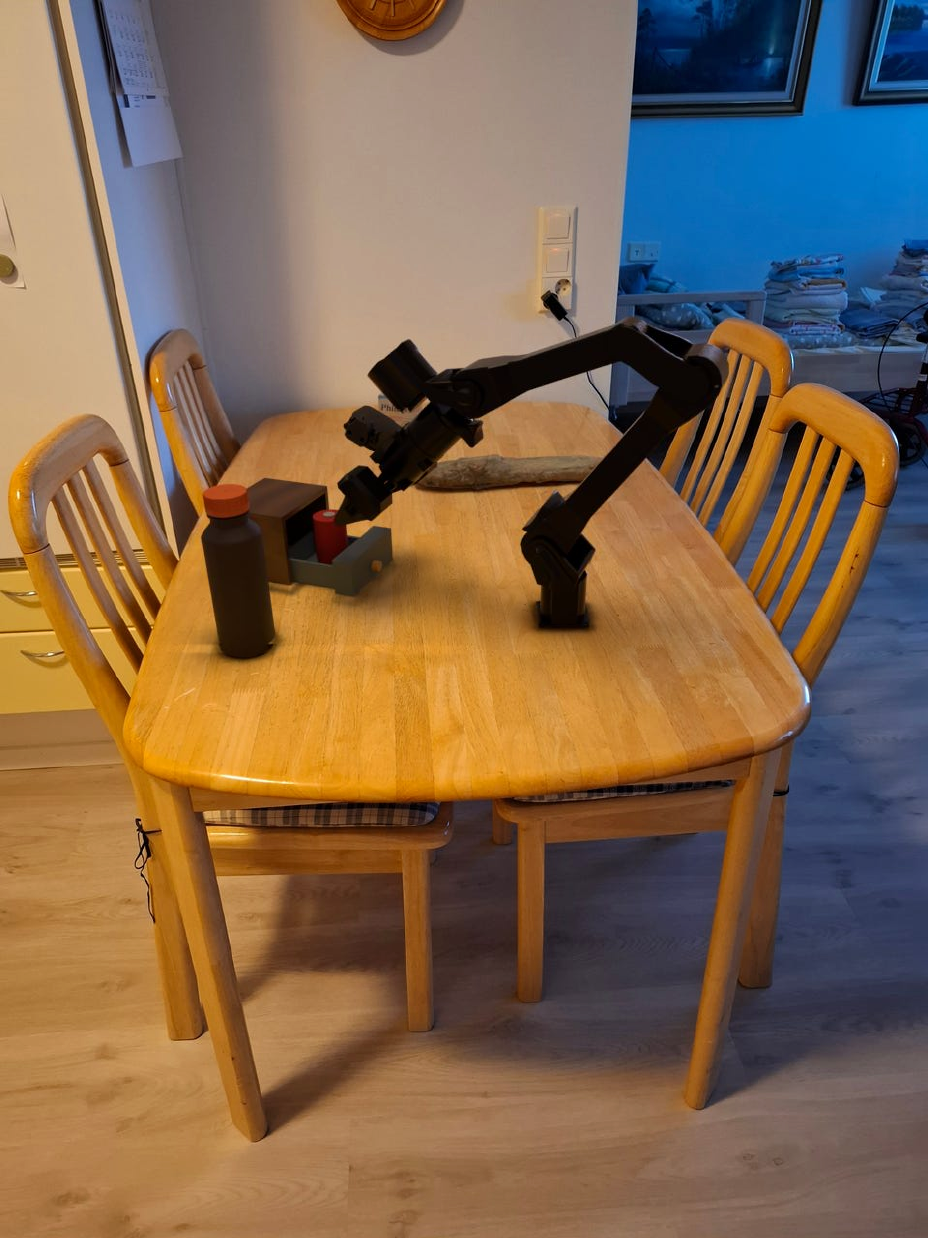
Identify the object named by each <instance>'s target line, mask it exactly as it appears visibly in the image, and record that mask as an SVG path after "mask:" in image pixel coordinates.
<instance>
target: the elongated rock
mask: <svg viewBox="0 0 928 1238" xmlns="http://www.w3.org/2000/svg"><path fill="white" fill-rule="evenodd" d="M602 458H603V457H601V456H598V457H596V456H594V455H593V456H591V455H585V454H575V455H574V454H573V455H557V456H552V455H548V456H534V457H523V458H521V457H513V456H512V457H511V456H507V457H506V456H502V455H500V454H499V453H497V454H495V453H490V454H488V455H478V456H471V457H469V456H468V457H462V456H461V457H458V458H456V459H451V460H450V459H449V460H445V461H440V462H439V461H438V462H437V467H436V468H435V469H434V470H433V471H432V472H431V473H430V474H428V475H427V476H426V477H425V478H424V479H422V480H421V481H419V482H418V483H417V484H420V485H423V486H424V487H426V488H428V487H430V488H431V487H432V488H443V489H453V490H457V489H461V490H462V489H463V490H464V489H470V488H471V489H473V490H477V491H479V490H480V489H489V488H490V487H500V486H501V487H505V486H513V485H516V484H519V483H522V482H526V483H527V482H528V483H533V482H534V483H536V484H541V483H545V482H553V481H554V482H556V481H557V482H558V481H559V482H560V481H561V482H575V481H576V482H582V481H583V480H584V479H585V478H586V477H587V475H588V474H589V473H590V472H591V471H592V470H593V469H594V468H595V466H596V465H597V464H598V463H599V462H600V461H601V460H602Z"/></svg>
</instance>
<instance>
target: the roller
mask: <svg viewBox="0 0 928 1238" xmlns="http://www.w3.org/2000/svg"><path fill="white" fill-rule="evenodd" d="M338 510H339V509H335V508H333V509H332V508H331V509H330V508H329V510H322V511H319V512H317V513H315V514H314V515H313V524H314V533H315V543H316V550H315V551H316V553H317V562H318V563H323V564H329V565H332V560H333V559H335V558H336V557H337V556H338V555H339V554H341V553H342V552H343V551H344V550H345V549H347V548H348V538H347V535H348V527H347V526H348V525H344V526H340V527H339V526H337V525H336V524H335V523H334V521H333V520H334V518H335V516H336V514H337V512H338Z"/></svg>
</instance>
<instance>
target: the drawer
mask: <svg viewBox="0 0 928 1238" xmlns="http://www.w3.org/2000/svg"><path fill="white" fill-rule="evenodd" d="M347 538H348V548H347V549H345V550H344V551H343V552H342V553H341V554H339V555H338V556H337V557H336V558H335V559H333V560H332V565H329V564H323V563H318V562H317V553H316V550H315V548H316V543H315V542H314V539H315V533H314V532H313V531H310V532H309V533H307V534H306V535H305V536H303V537H302V538H301V539H299V540H298V541H297V542H295V543H294V544H293V545H291V546H288V547H289V556H290V564H291V572H292V581H293V583H297V584H301V585H302V584H303V585H309V586H314V587H318V588H319V587H320V588H325V589H331V590H334V595H341V596H347V597H352V598H355V596H357V594H358V593H360V592H361V591H362V590H363V589H364V588H365V587H366V586H367V585H368V584H369V583H370V582H371V581H372V580H373V579H374V578H376V576H377V575H379V574H380V573H381V572H382V571H383V570H384V569H386V568H387V566H388V565H389V564H390V563H391V562H392V561H394V554H393V553H394V552H393V551H394V550H393V537H392V528H391V527H384V526H377V525H372V526H371V527H370V528H369V529H368V530H367V531H365V532H364V533H363V534H362V535H360V536H357V535H350V534H347Z"/></svg>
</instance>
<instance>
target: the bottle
mask: <svg viewBox="0 0 928 1238" xmlns="http://www.w3.org/2000/svg"><path fill="white" fill-rule="evenodd" d="M247 488H248V487H245V486H244V485H241V484H235V483H225V484H224V483H223V484H218V485H213V486H211V487H208V488H206V489H205V490H204V491H203V492H202V501H203V506H204V507H203V508H204V512H205V516H206V518H207V519H208V520H209V523H208V524H207V525H206V527H205V528H204V530H203V531H202V533H201V536H200V541H201V545H202V552H203V557H204V558H203V559H204V564H205V570H206V576H207V581H208V586H209V593H210V599H211V604H212V610H213V616H214V622H215V627H216V633H217V639H218V640H217V641H218V642H219V648H220V650H221V652H223V653H224V654H225V655H227V656H229V657H232V658H238V659H239V658H240V659H243V658H244V659H245V658H253V657H258V656H261V655H263V654H265V653H266V652H269V651H270V650H271V649H272V648H273V646H275V643H271V642H273V640H274V639H275V637H276V628H275V621H274V614H273V607H272V598H271V591H270V585H269V583H270V582H268V576H267V569H266V561H265V554H264V547H263V539H262V532H261V529H260V528H259V526H258V525H257V524H256V523H254V522H253V521H252V520H250V519H249V518H248V514H249V511H250V510H249V507H250V506H249V499H248V492H247Z"/></svg>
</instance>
